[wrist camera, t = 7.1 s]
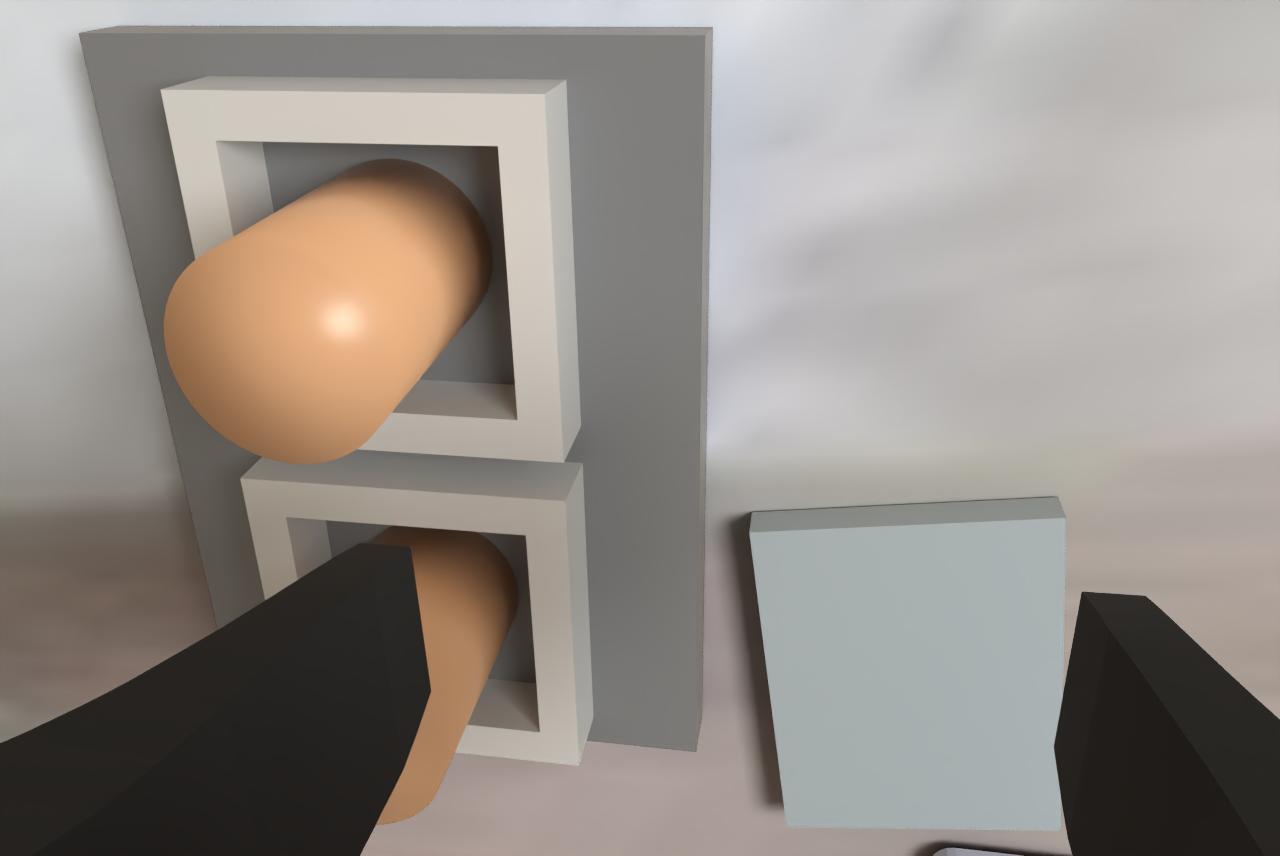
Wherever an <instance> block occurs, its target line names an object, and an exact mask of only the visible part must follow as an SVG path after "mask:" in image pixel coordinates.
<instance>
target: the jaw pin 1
mask: <svg viewBox="0 0 1280 856" xmlns="http://www.w3.org/2000/svg"><path fill="white" fill-rule="evenodd" d="M491 273H492V252H491V244H490V240H489V237H488V233H487V230H486V228H485V225H484V223H483V220H482V219H481V217H480V215H479V213H478V211H477V209H476V208H475V207H474V205H473V204H472V202H471V201H470V199H469V198H468V197H467V196H466V195H465V194H464V193H463V192H462V190H461V189H459V188H458V187H457V186H456V185H455V184H454V183H453V182H452V181H450V180H449V179H448V178H446V177H445V176H443V175H442V174H440V173H438V172H437V171H435V170H433V169H431V168H429V167H427V166H424V165H421V164H419V163H416V162H412V161H408V160H402V159H377V160H371V161H367V162H364V163H361V164H358V165H356V166H354V167H352V168H350V169H348V170H346V171H345V172H343V173H341V174H340V175H338V176H336V177H334V178H333V179H331V180H329V181H328V182H326V183H324V184H323V185H321V186H319V187H317V188H316V189H314V190H312V191H311V192H309V193H307V194H305V195H304V196H302V197H300V198H299V199H297V200H295V201H294V202H292V203H290V204H288V205H287V206H285V207H283V208H282V209H280V210H278V211H277V212H275V213H273V214H271V215H270V216H268V217H266V218H265V219H263V220H261V221H259V222H258V223H256V224H254V225H253V226H251V227H249V228H248V229H246V230H244V231H242V232H241V233H239V234H237V235H236V236H234V237H232V238H230V239H229V240H227V241H225V242H224V243H222V244H220V245H219V246H217V247H215V248H213V249H212V250H210V251H208V252H207V253H205V254H203V255H202V256H200V257H199V258H198V259H196V260H195V261H193V262H192V263H191V264H190V265H189V266H188V267H187V268H186V269H185V270H184V271H183V272H182V274H181V275H180V277H179V278H178V280H177V281H176V282H175V284H174V286H173V288H172V291H171V293H170V295H169V298H168V301H167V305H166V309H165V316H164V340H165V347H166V352H167V356H168V360H169V363H170V366H171V369H172V371H173V374H174V376H175V379H176V380H177V382H178V384H179V386H180V388H181V390H182V392H183V393H184V395H185V396H186V398H187V399H188V400H189V402H190V403H191V405H192V406H193V407H194V408H195V410H196V411H197V412H198V413H199V414H200V416H201V417H202V418H203V419H204V420H205V421H206V422H207V423H209V424H210V425H211V426H212V427H213V428H214V429H215V430H216V431H218V432H219V433H220V434H221V435H223V436H224V437H225V438H227V439H228V440H230V441H232V442H233V443H235V444H236V445H238V446H240V447H242V448H244V449H246V450H248V451H249V452H251V453H254V454H257V455H259V456H262V457H264V458H268V459H271V460H275V461H279V462H285V463H292V464H315V463H323V462H327V461H332V460H335V459H338V458H340V457H343V456H346V455H348V454H349V453H351V452H353V451H355V450H356V449H358V448H359V447H360V446H362V445H363V444H364V443H365V442H367V441H368V440H369V439H370V437H371V436H372V435H373V434H374V433H375V432H376V431H377V430H378V428H379V427H380V426H381V425H382V424H383V422H384V421H385V420H386V419H387V418H388V416H389V415H390V414H391V413H392V412H393V410H394V409H395V408H396V407H397V405H398V404H399V403H400V402H401V401H402V399H403V398H404V397H405V396H406V395H407V393H408V392H409V391H410V390H411V389H412V387H413V386H414V385H415V384H416V383H417V381H418V380H419V379H420V378H421V377H422V375H423V374H424V373H425V372H426V371H427V369H428V368H429V367H430V366H431V365H432V363H433V362H434V361H435V360H436V359H437V357H438V356H439V355H440V354H441V353H442V351H443V350H444V349H445V348H446V347H447V345H448V344H449V343H450V342H451V341H452V339H453V338H454V337H455V336H456V335H457V333H458V332H459V331H460V330H461V329H462V327H463V326H464V325H465V324H466V323H467V321H468V320H469V319H470V318H471V317H472V315H473V314H474V313H475V312H476V310H477V309H478V308H479V306H480V304H481V303H482V301H483V299H484V297H485V295H486V293H487V290H488V287H489V284H490V280H491Z"/></svg>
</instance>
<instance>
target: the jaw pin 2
mask: <svg viewBox="0 0 1280 856" xmlns="http://www.w3.org/2000/svg"><path fill="white" fill-rule="evenodd" d="M373 544H381V545H395V546H410V547H411V552H412V559H413V566H414V573H415V580H416V587H417V594H418V601H419V608H420V615H421V622H422V629H423V636H424V643H425V650H426V657H427V664H428V671H429V678H430V685H431V694H430V697H429V700H428V703H427V705H426V708H425V711H424V714H423V717H422V720H421V723H420V726H419V729H418V732H417V735H416V738H415V740H414V743H413V746H412V748H411V751H410V754H409V756H408V759H407V762H406V764H405V767H404V770H403V772H402V774H401V776H400V778H399V780H398V782H397V784H396V786H395V788H394V790H393V792H392V794H391V796H390V798H389V800H388V802H387V804H386V806H385V808H384V810H383V811H382V813H381V815H380V817H379V819H378V821H377V823H376V825H379V824H389V823H395V822H398V821H402V820H405V819H407V818H409V817H412V816H414V815H415V814H417V813H419V812H420V811H422V810H423V809H424V808H425V807H426V806H427V805H428V804H429V803H430V802H431V801H432V799H433V798H434V796H435V795H436V793H437V791H438V789H439V787H440V784H441V782H442V780H443V778H444V775H445V773H446V771H447V769H448V766H449V764H450V762H451V760H452V757H453V755H454V753H455V751H456V748H457V746H458V744H459V742H460V739H461V737H462V735H463V733H464V730H465V728H466V726H467V724H468V721H469V719H470V717H471V715H472V712H473V710H474V708H475V706H476V703H477V701H478V699H479V697H480V694H481V692H482V690H483V688H484V685H485V683H486V681H487V679H488V676H489V674H490V672H491V670H492V667H493V665H494V663H495V661H496V658H497V656H498V654H499V652H500V649H501V647H502V645H503V643H504V640H505V638H506V636H507V634H508V631H509V629H510V627H511V625H512V622H513V620H514V618H515V615H516V612H517V609H518V602H519V591H518V584H517V581H516V577H515V574H514V572H513V570H512V568H511V566H510V564H509V562H508V561H507V559H506V558H505V556H504V555H503V554H502V553H501V551H500V550H499V549H498V548H497V547H496V546H495V545H494V544H493V543H492V542H491V541H490V540H488V539H487V538H486V537H484V536H483V535H482V534H480V533H478V532H475V531H462V530H448V529H435V528H422V527H409V526H396V525H393V526H391V527H389V528H387V529H386V530H385V531H384V532H382V533H381V534H380V535H379V536H378V537H377V539H376V540H375V541H374V542H373Z"/></svg>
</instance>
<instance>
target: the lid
mask: <svg viewBox="0 0 1280 856" xmlns="http://www.w3.org/2000/svg"><path fill="white" fill-rule="evenodd" d="M749 534H750V542H751V550H752V558H753V566H754V573H755V581H756V589H757V597H758V605H759V613H760V621H761V629H762V637H763V645H764V653H765V660H766V668H767V676H768V684H769V692H770V700H771V708H772V716H773V724H774V732H775V739H776V747H777V755H778V763H779V771H780V779H781V787H782V795H783V803H784V811H785V818H786V826H787V827H801V828H883V829H965V830H1048V831H1060V818H1061V794H1060V787H1059V780H1058V773H1057V766H1056V760H1055V753H1054V742H1055V737H1056V731H1057V726H1058V720H1059V715H1060V709H1061V704H1062V698H1063V655H1064V601H1065V547H1066V517H1065V514H1064V511H1063V509H1062V506H1061V503H1060V501H1059V498H1058V497H1046V498H1026V499H1006V500H986V501H966V502H946V503H926V504H906V505H887V506H867V507H847V508H827V509H807V510H787V511H767V512H752V516H751V524H750V531H749Z"/></svg>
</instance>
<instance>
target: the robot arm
mask: <svg viewBox="0 0 1280 856" xmlns="http://www.w3.org/2000/svg"><path fill="white" fill-rule="evenodd" d="M430 694H431V685H430V678H429V671H428V664H427V657H426V650H425V643H424V636H423V629H422V622H421V615H420V608H419V601H418V594H417V587H416V580H415V573H414V566H413V559H412V552H411V547H410V546H395V545H381V544H366V543H359V544H357V545H356V546H354V547H352V548H350V549H348V550H346V551H344V552H342V553H341V554H339V555H337V556H336V557H334V558H332V559H331V560H329V561H327V562H326V563H324V564H322V565H321V566H319V567H317V568H316V569H314V570H313V571H311V572H309V573H308V574H306V575H305V576H303V577H301V578H300V579H298V580H297V581H295V582H294V583H292V584H290V585H289V586H287V587H286V588H284V589H282V590H281V591H279V592H278V593H276V594H275V595H273V596H271V597H270V598H268V599H267V600H265V601H263V602H262V603H260V604H259V605H257V606H255V607H254V608H252V609H251V610H249V611H247V612H246V613H244V614H243V615H241V616H239V617H238V618H236V619H235V620H233V621H231V622H230V623H228V624H227V625H225V626H223V627H222V628H220V629H219V630H217V631H215V632H214V633H212V634H210V635H209V636H207V637H205V638H204V639H202V640H200V641H198V642H197V643H195V644H193V645H191V646H190V647H188V648H186V649H184V650H183V651H181V652H179V653H177V654H176V655H174V656H172V657H170V658H169V659H167V660H165V661H163V662H162V663H160V664H158V665H156V666H155V667H153V668H151V669H150V670H148V671H146V672H144V673H143V674H141V675H139V676H137V677H136V678H134V679H132V680H130V681H129V682H127V683H125V684H123V685H121V686H119V687H117V688H115V689H113V690H112V691H110V692H108V693H106V694H104V695H102V696H100V697H98V698H96V699H94V700H92V701H90V702H88V703H86V704H84V705H82V706H80V707H78V708H76V709H74V710H72V711H70V712H68V713H66V714H63V715H61V716H59V717H57V718H55V719H53V720H51V721H49V722H47V723H44V724H42V725H40V726H38V727H36V728H34V729H32V730H30V731H28V732H25V733H23V734H21V735H19V736H16V737H14V738H12V739H10V740H7V741H5V742H2V743H0V856H360V854H361V852H362V850H363V848H364V846H365V844H366V843H367V841H368V839H369V837H370V835H371V833H372V831H373V829H374V827H375V825H376V823H377V821H378V819H379V817H380V815H381V813H382V811H383V810H384V808H385V806H386V804H387V802H388V800H389V798H390V796H391V794H392V792H393V790H394V788H395V786H396V784H397V782H398V780H399V778H400V776H401V774H402V772H403V770H404V767H405V764H406V762H407V759H408V756H409V754H410V751H411V748H412V746H413V743H414V740H415V738H416V735H417V732H418V729H419V726H420V723H421V720H422V717H423V714H424V711H425V708H426V705H427V703H428V700H429V697H430ZM1054 753H1055V760H1056V766H1057V773H1058V780H1059V787H1060V794H1061V800H1062V806H1063V812H1064V818H1065V824H1066V830H1067V836H1068V840H1069V844H1070V847H1071V851H1072V854H1073V856H1280V719H1278V718H1277V717H1276V716H1275V715H1274V714H1273V713H1272V712H1271V711H1270V710H1268V709H1267V708H1266V707H1265V706H1264V705H1263V704H1262V703H1261V702H1260V701H1258V700H1257V699H1256V698H1255V697H1254V696H1253V695H1252V694H1251V693H1250V692H1249V691H1247V690H1246V689H1245V688H1244V687H1243V686H1242V685H1241V684H1240V683H1239V682H1238V681H1237V680H1235V679H1234V678H1233V677H1232V676H1231V675H1230V674H1229V673H1228V672H1227V671H1226V670H1225V669H1224V668H1223V667H1222V666H1220V665H1219V664H1218V663H1217V662H1216V661H1215V660H1214V659H1213V658H1212V657H1211V656H1210V655H1209V654H1208V653H1207V652H1206V651H1205V650H1203V649H1202V648H1201V647H1200V646H1199V645H1198V644H1197V643H1196V642H1195V641H1194V640H1193V639H1192V638H1191V637H1190V636H1189V635H1188V634H1187V633H1186V632H1184V631H1183V630H1182V629H1181V628H1180V627H1179V626H1178V625H1177V624H1176V623H1175V622H1174V621H1173V620H1172V619H1171V618H1170V617H1169V616H1167V615H1166V614H1165V613H1164V612H1163V611H1162V610H1161V609H1160V608H1159V607H1158V606H1157V605H1155V604H1154V603H1153V602H1152V601H1151V600H1150V599H1149V598H1147V597H1146V596H1139V595H1124V594H1109V593H1094V592H1082V594H1081V600H1080V605H1079V611H1078V616H1077V622H1076V627H1075V633H1074V638H1073V644H1072V649H1071V654H1070V660H1069V665H1068V671H1067V676H1066V682H1065V687H1064V693H1063V698H1062V704H1061V709H1060V715H1059V720H1058V726H1057V731H1056V737H1055V742H1054ZM933 856H1022V855H1014V854H1005V853H996V852H987V851H979V850H970V849H961V848H945V849H942V850H939V851H938V852H936V853H935V854H934V855H933Z"/></svg>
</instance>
